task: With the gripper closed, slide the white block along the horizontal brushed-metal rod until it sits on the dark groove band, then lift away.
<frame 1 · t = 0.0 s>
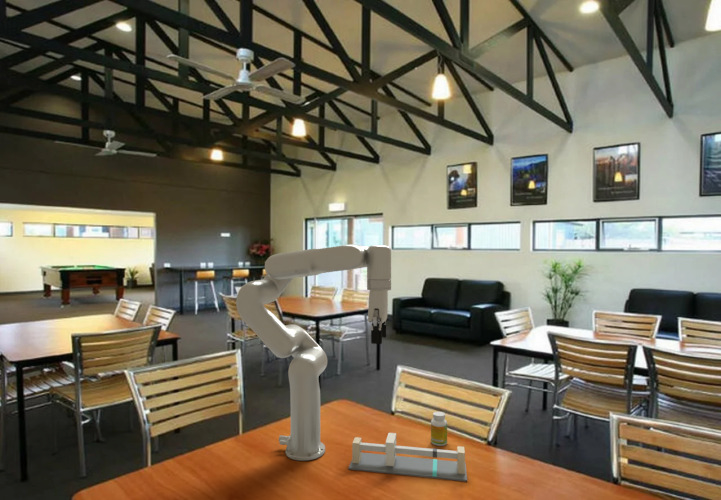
hand: (379, 340, 130), 37 cm above the table, tool pointing down, fingers open, 9 cm apart
white block: (391, 448, 126), point 5 cm above the table, slide at 0.0 cm
supplement bottle: (439, 443, 141), on the table
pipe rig: (407, 466, 125), on the table
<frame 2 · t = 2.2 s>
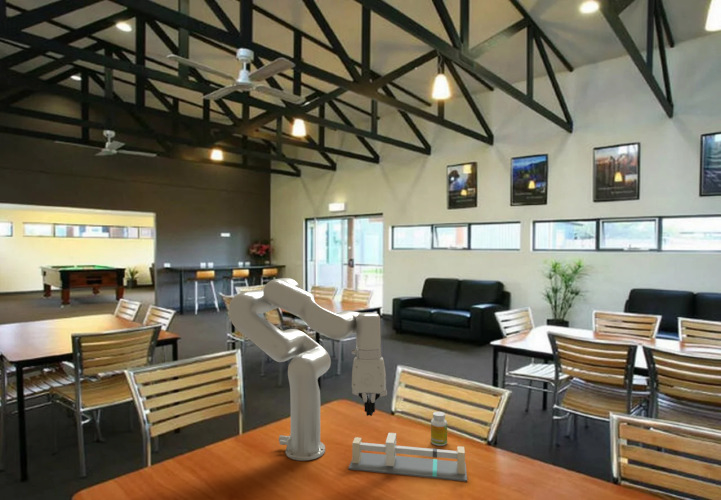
hand: (369, 414, 128), 15 cm above the table, tool pointing down, fingers closed
nothing on the table moved.
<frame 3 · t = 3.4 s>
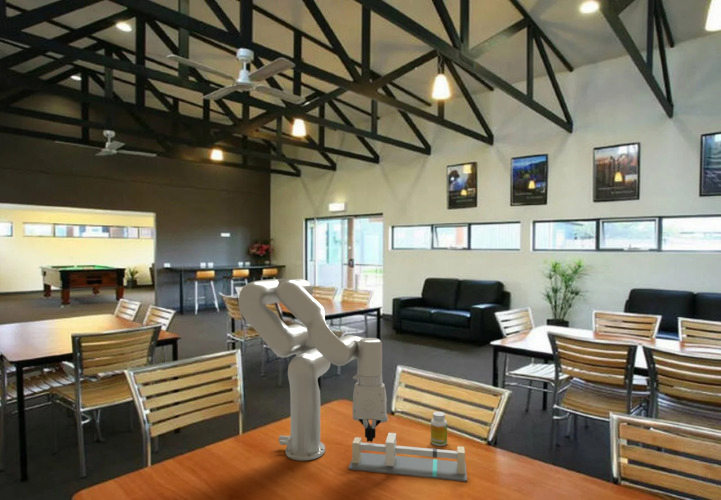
hand: (370, 439, 128), 7 cm above the table, tool pointing down, fingers closed
nothing on the table moved.
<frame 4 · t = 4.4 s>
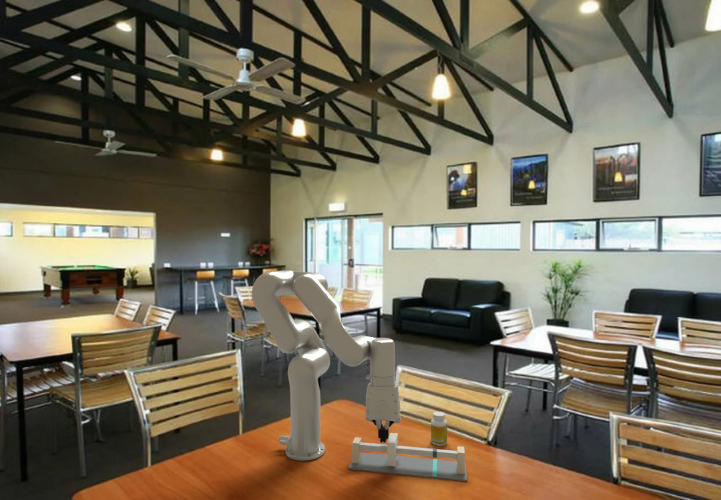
hand: (383, 440, 127), 7 cm above the table, tool pointing down, fingers closed
white block: (392, 449, 126), point 5 cm above the table, slide at 0.5 cm, touching gripper
everything else where it was.
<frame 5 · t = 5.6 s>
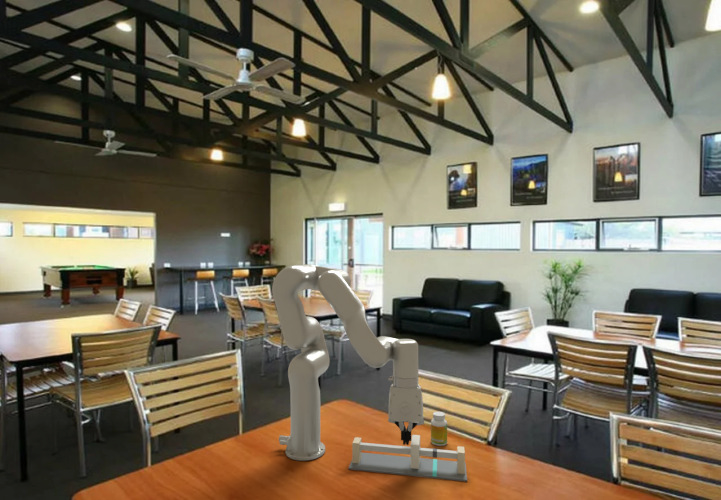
hand: (406, 442, 126), 7 cm above the table, tool pointing down, fingers closed
white block: (415, 451, 125), point 5 cm above the table, slide at 7.3 cm, touching gripper
everything else where it was.
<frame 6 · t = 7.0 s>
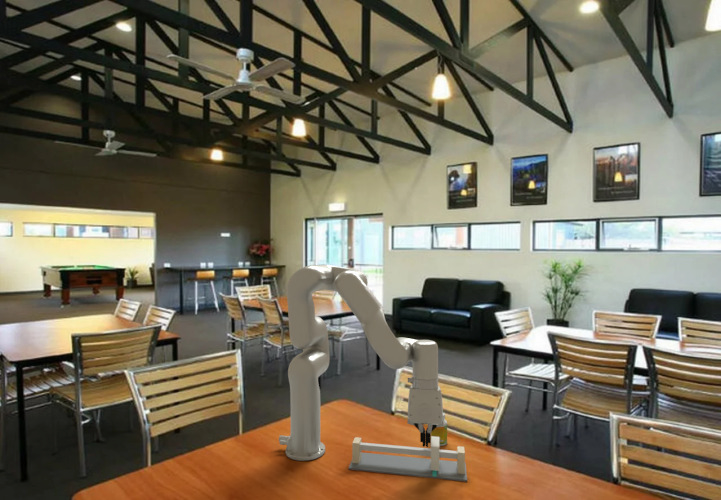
hand: (425, 444, 124), 7 cm above the table, tool pointing down, fingers closed
white block: (435, 453, 124), point 5 cm above the table, slide at 13.1 cm, touching gripper
everything else where it was.
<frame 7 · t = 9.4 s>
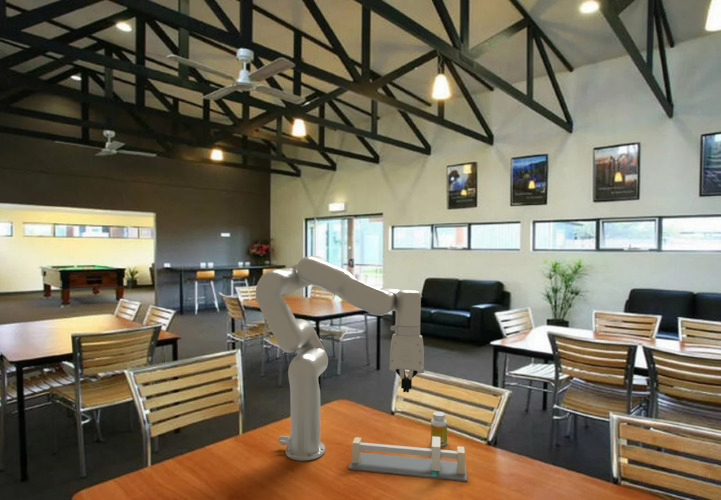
hand: (406, 390, 128), 22 cm above the table, tool pointing down, fingers closed
white block: (436, 453, 124), point 5 cm above the table, slide at 13.4 cm
everything else where it was.
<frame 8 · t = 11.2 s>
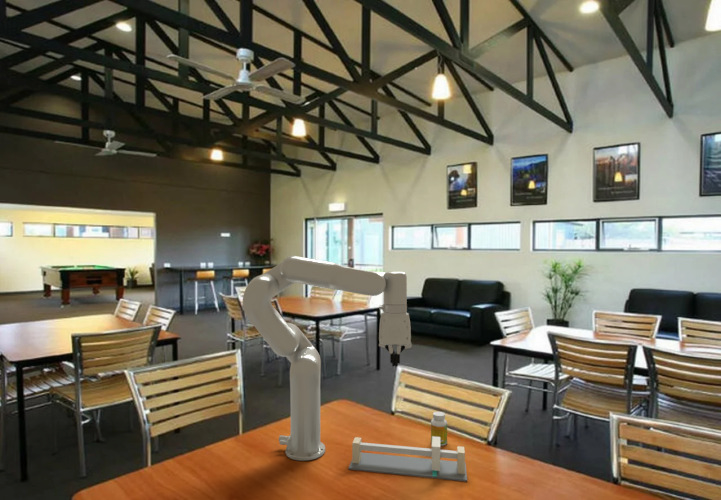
hand: (395, 365, 137), 27 cm above the table, tool pointing down, fingers closed
nothing on the table moved.
at the end: white block slide at 13.4 cm; supplement bottle moved 0.2 cm from its start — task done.
